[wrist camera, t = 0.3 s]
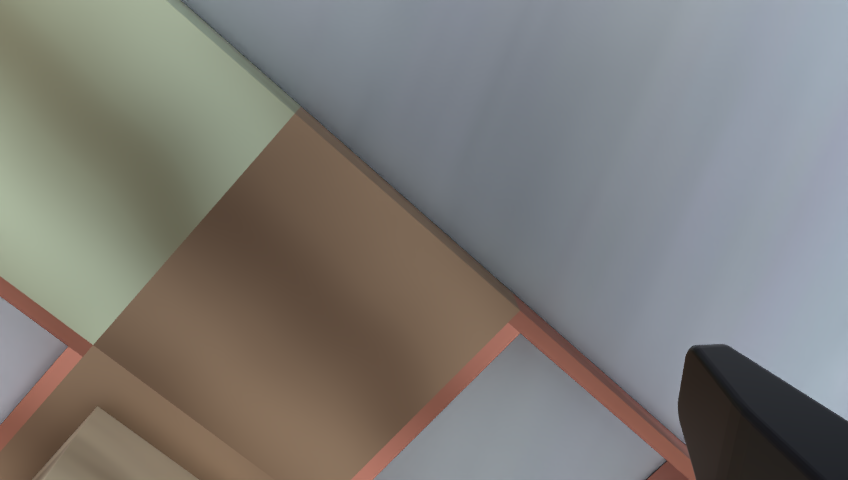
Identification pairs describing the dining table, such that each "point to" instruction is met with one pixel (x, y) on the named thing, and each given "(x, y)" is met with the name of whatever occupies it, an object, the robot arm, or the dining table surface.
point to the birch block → (109, 455)
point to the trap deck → (229, 262)
